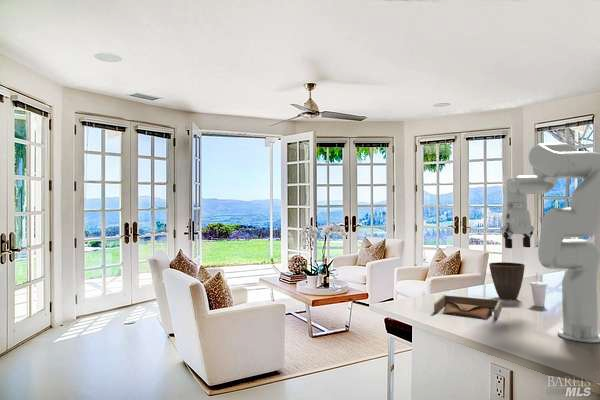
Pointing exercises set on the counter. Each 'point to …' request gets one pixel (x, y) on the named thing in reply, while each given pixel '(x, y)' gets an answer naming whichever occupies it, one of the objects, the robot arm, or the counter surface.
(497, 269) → the plant pot
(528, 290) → the counter surface
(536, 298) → the smoothie
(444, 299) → the walnut bracket
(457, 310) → the sunglasses case
